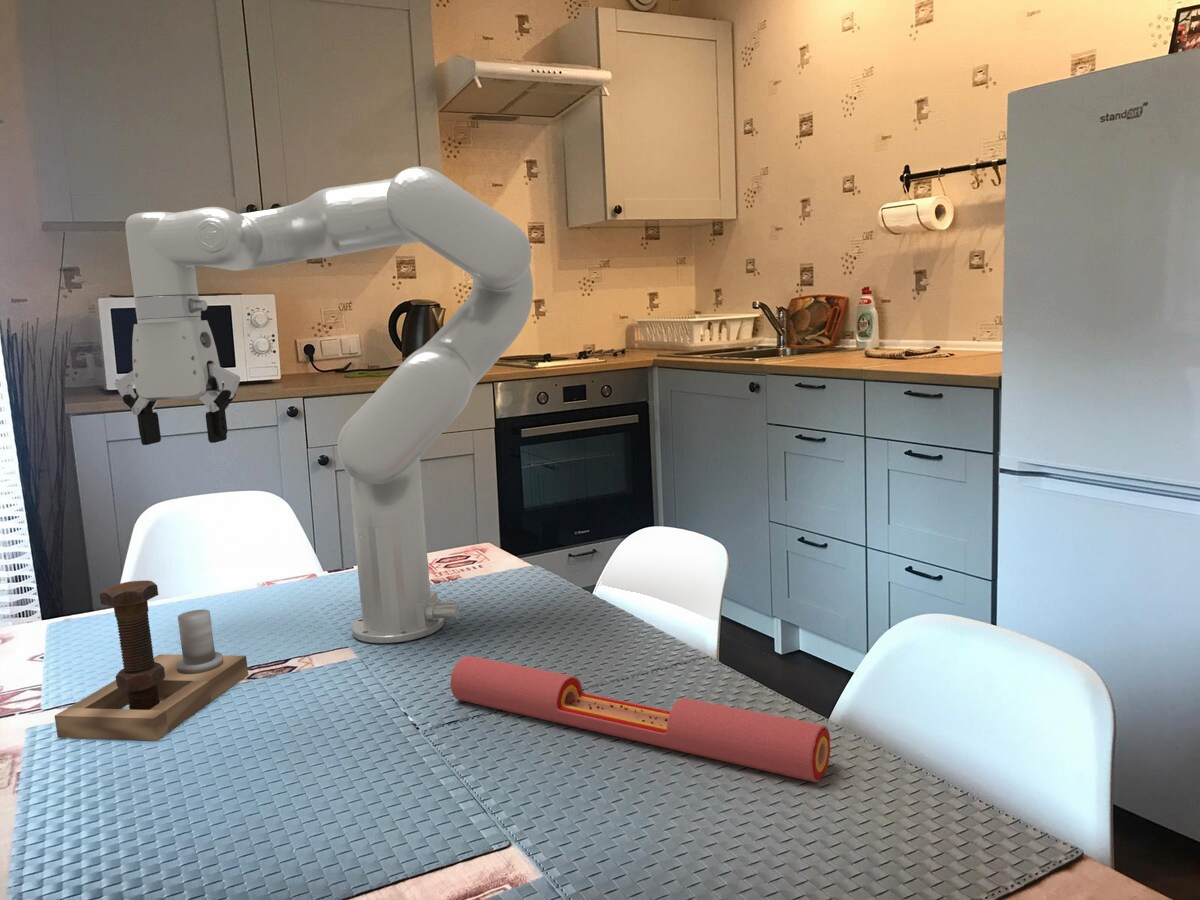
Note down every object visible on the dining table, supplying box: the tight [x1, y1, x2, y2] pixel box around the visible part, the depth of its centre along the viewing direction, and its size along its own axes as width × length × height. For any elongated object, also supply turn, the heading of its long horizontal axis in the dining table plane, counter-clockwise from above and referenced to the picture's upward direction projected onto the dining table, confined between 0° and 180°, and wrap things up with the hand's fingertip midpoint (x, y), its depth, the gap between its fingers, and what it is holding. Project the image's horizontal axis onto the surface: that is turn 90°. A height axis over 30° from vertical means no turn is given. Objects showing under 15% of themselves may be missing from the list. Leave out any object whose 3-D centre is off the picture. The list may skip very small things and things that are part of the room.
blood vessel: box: [450, 655, 831, 783], centre depth 96 cm, size 42×5×5 cm, turn 58°
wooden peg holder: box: [54, 609, 249, 742], centre depth 109 cm, size 12×18×9 cm, turn 170°
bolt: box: [99, 580, 165, 710], centre depth 106 cm, size 6×5×15 cm
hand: (184, 442), depth 124 cm, fingers open, 9 cm apart
